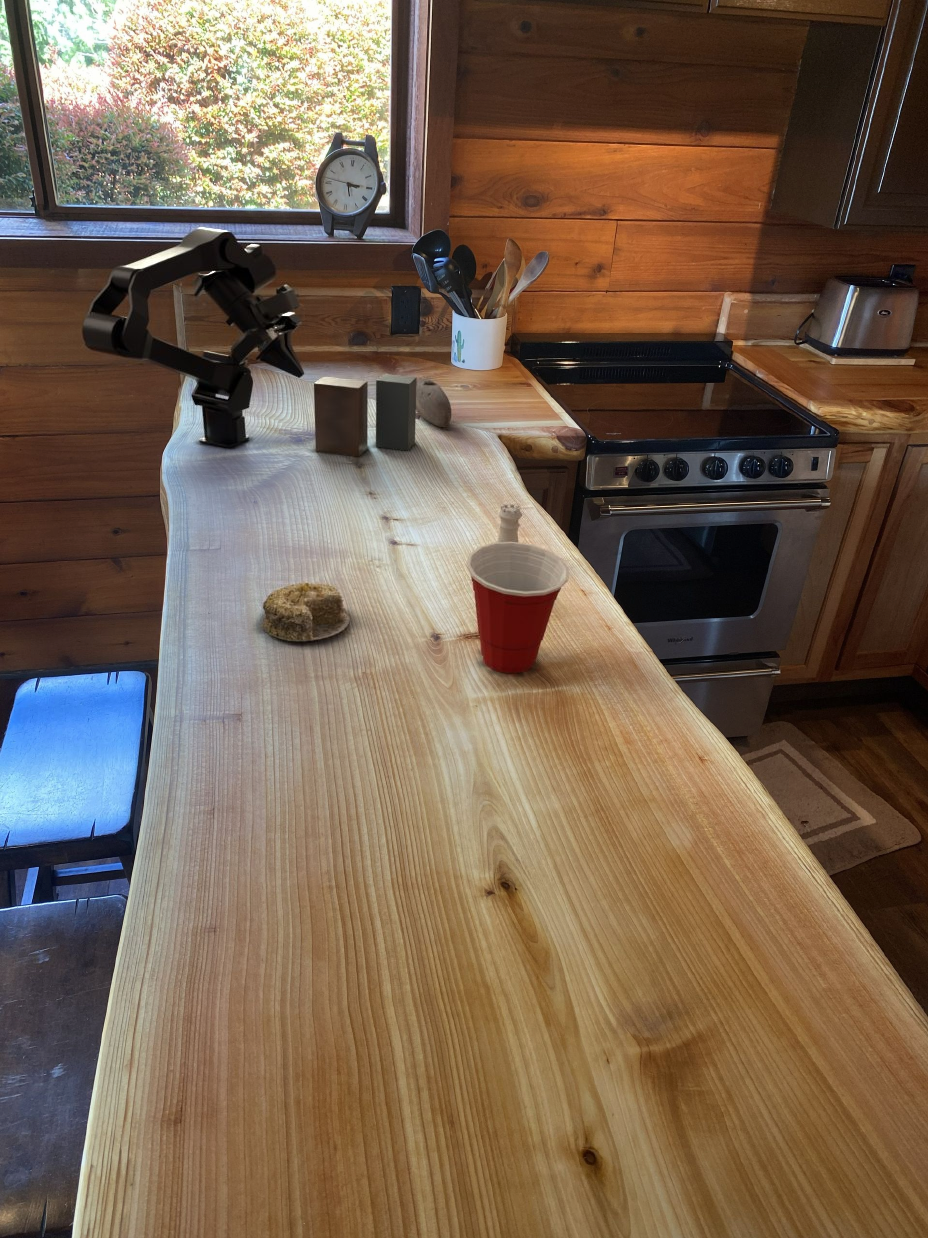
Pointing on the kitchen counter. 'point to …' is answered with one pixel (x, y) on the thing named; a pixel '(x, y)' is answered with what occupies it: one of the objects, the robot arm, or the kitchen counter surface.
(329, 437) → the walnut block
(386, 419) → the slate block
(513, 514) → the rook chess piece
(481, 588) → the plastic cup
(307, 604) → the cake
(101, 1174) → the kitchen counter surface
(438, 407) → the perforated stone tool
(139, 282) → the robot arm
